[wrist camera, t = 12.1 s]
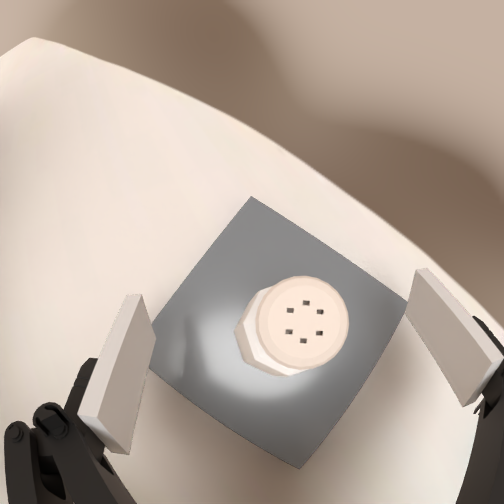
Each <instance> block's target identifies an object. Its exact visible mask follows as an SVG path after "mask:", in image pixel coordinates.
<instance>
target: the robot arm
mask: <svg viewBox="0 0 504 504" xmlns="http://www.w3.org/2000/svg"><path fill="white" fill-rule="evenodd" d="M405 315H406V316H407V318H408V319H409V321H410V322H411V323H412V325H413V326H414V328H415V329H416V331H417V333H418V334H419V336H420V337H421V339H422V340H423V342H424V343H425V345H426V346H427V348H428V350H429V351H430V353H431V354H432V356H433V357H434V359H435V361H436V362H437V364H438V366H439V367H440V369H441V371H442V372H443V374H444V376H445V377H446V379H447V381H448V382H449V384H450V386H451V387H452V389H453V391H454V393H455V394H456V396H457V398H458V400H459V402H460V403H461V405H462V407H465V406H467V405H469V404H471V403H473V402H475V401H476V400H477V398H478V397H479V396H480V394H481V393H482V394H483V396H484V398H483V400H482V401H481V402H480V404H479V405H478V406H477V408H476V409H475V411H474V413H473V414H476V412H477V411H478V410H479V409H480V412H479V414H478V415H479V419H478V425H477V430H476V435H475V439H474V444H473V448H472V452H471V456H470V460H469V464H468V467H467V471H466V474H465V477H464V481H463V484H462V487H461V490H460V493H459V496H458V498H457V501H456V504H504V347H503V346H502V344H501V343H500V342H499V341H498V339H497V338H496V337H495V336H494V334H493V333H492V332H491V331H490V330H489V328H488V327H487V326H486V325H485V324H484V322H483V321H481V320H480V319H478V318H477V317H475V316H471V315H470V314H469V313H468V312H467V310H466V309H465V308H464V307H463V306H462V305H461V304H460V302H459V301H458V300H457V299H456V298H455V297H454V296H453V295H452V294H451V292H450V291H449V290H448V289H447V288H446V287H445V286H444V285H443V284H442V283H441V282H440V281H439V279H438V278H437V277H436V276H435V275H434V274H433V273H432V272H431V271H430V270H429V269H428V268H424V269H417V270H416V271H415V275H414V280H413V284H412V288H411V292H410V296H409V299H408V303H407V307H406V310H405ZM155 341H156V337H155V334H154V331H153V328H152V325H151V322H150V319H149V316H148V313H147V310H146V307H145V304H144V300H143V297H142V294H137V295H126V298H125V300H124V302H123V304H122V306H121V308H120V310H119V312H118V315H117V317H116V319H115V321H114V323H113V326H112V328H111V330H110V332H109V335H108V337H107V339H106V341H105V344H104V346H103V348H102V351H101V353H100V356H99V358H89V359H88V360H87V361H86V362H85V363H84V364H83V365H82V366H81V368H80V371H79V373H78V375H77V379H76V380H75V382H74V387H72V390H71V392H70V395H69V397H68V400H67V402H66V405H65V407H64V410H63V409H62V408H61V406H60V405H58V404H56V403H53V402H48V403H45V404H43V405H41V406H40V407H38V409H37V410H36V411H35V413H34V416H33V425H34V426H35V427H36V428H31V429H30V428H29V427H28V426H27V425H26V424H25V423H24V422H22V421H15V422H13V423H11V424H10V425H9V426H8V427H7V429H6V431H5V435H4V456H5V474H6V485H7V494H8V502H9V504H137V503H136V502H135V501H134V499H133V498H132V496H131V495H130V493H129V492H128V491H127V489H126V488H125V486H124V485H123V483H122V482H121V480H120V478H119V477H118V475H117V474H116V472H115V471H114V469H113V467H112V466H111V464H110V462H109V461H108V459H107V457H106V456H105V455H104V454H103V452H104V448H105V446H106V447H107V448H108V449H109V450H110V451H111V452H113V453H119V454H126V455H129V454H130V448H131V443H132V438H133V433H134V428H135V424H136V419H137V414H138V410H139V405H140V401H141V397H142V392H143V388H144V384H145V380H146V376H147V372H148V368H149V364H150V360H151V356H152V352H153V348H154V344H155ZM73 502H74V503H73Z"/></svg>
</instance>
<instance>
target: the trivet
mask: <svg viewBox="0 0 504 504" xmlns="http://www.w3.org/2000/svg"><path fill="white" fill-rule="evenodd" d="M293 276H310V277H315V278H318V279H320V280H322V281H324V282H326V283H328V284H330V285H331V286H332V287H333V288H334V289H335V290H336V291H337V292H338V293H339V294H340V296H341V297H342V299H343V300H344V303H345V305H346V308H347V311H348V318H349V328H348V333H347V337H346V340H345V342H344V344H343V346H342V348H341V349H340V350H339V352H338V353H337V354H336V355H335V357H333V358H332V359H331V360H329V361H328V362H327V363H325V364H323V365H321V366H318V367H316V368H313V369H309V370H306V371H303V372H300V373H297V374H294V375H291V376H287V377H282V376H272V375H270V374H268V373H266V372H264V371H261V370H259V369H257V368H255V367H253V366H251V365H249V364H247V363H245V362H243V359H242V355H241V352H240V349H239V346H238V343H237V340H236V337H235V334H234V329H235V328H236V326H237V324H238V322H239V320H240V318H241V316H242V314H243V312H244V311H245V309H246V307H247V305H248V303H249V302H250V301H251V299H252V298H253V297H254V296H255V295H256V293H257V292H258V291H260V290H263V289H265V288H268V287H271V286H274V285H276V284H277V283H279V282H280V281H282V280H284V279H287V278H290V277H293ZM407 303H408V302H407V301H406V300H404V299H403V298H401V297H400V296H399V295H397V294H396V293H395V292H393V291H392V290H390V289H389V288H388V287H386V286H385V285H383V284H382V283H381V282H379V281H378V280H376V279H375V278H374V277H372V276H371V275H369V274H368V273H367V272H365V271H364V270H362V269H361V268H359V267H358V266H357V265H355V264H354V263H352V262H351V261H349V260H348V259H346V258H345V257H343V256H342V255H341V254H339V253H338V252H336V251H335V250H333V249H332V248H330V247H329V246H327V245H326V244H324V243H323V242H321V241H320V240H318V239H317V238H315V237H314V236H312V235H311V234H309V233H308V232H306V231H305V230H303V229H302V228H300V227H299V226H297V225H296V224H294V223H293V222H291V221H290V220H288V219H286V218H285V217H283V216H282V215H280V214H279V213H277V212H276V211H274V210H272V209H271V208H269V207H268V206H266V205H265V204H263V203H261V202H260V201H258V200H257V199H255V198H253V197H252V196H251V197H250V198H249V199H248V201H247V202H246V203H245V204H244V206H243V207H242V208H241V209H240V210H239V212H238V213H237V214H236V215H235V217H234V218H233V219H232V220H231V222H230V223H229V224H228V225H227V227H226V228H225V229H224V230H223V232H222V233H221V234H220V235H219V237H218V238H217V239H216V240H215V242H214V243H213V244H212V245H211V247H210V248H209V249H208V251H207V252H206V253H205V254H204V256H203V257H202V258H201V260H200V261H199V262H198V263H197V265H196V266H195V267H194V269H193V270H192V271H191V272H190V274H189V275H188V276H187V278H186V279H185V280H184V281H183V283H182V284H181V285H180V287H179V288H178V289H177V291H176V292H175V293H174V295H173V296H172V297H171V299H170V300H169V301H168V303H167V304H166V305H165V307H164V308H163V309H162V311H161V312H160V313H159V315H158V316H157V317H156V319H155V320H154V321H153V323H152V324H151V325H152V328H153V331H154V334H155V337H156V341H155V344H154V348H153V352H152V356H151V360H150V364H149V368H150V369H151V370H152V371H153V372H154V373H155V374H157V375H158V376H159V377H160V378H161V379H163V380H164V381H165V382H166V383H168V384H169V385H170V386H171V387H173V388H174V389H175V390H176V391H178V392H179V393H180V394H182V395H183V396H184V397H186V398H187V399H188V400H190V401H191V402H192V403H194V404H195V405H196V406H198V407H199V408H200V409H202V410H203V411H205V412H206V413H207V414H209V415H210V416H212V417H213V418H215V419H216V420H217V421H219V422H220V423H222V424H223V425H225V426H226V427H228V428H229V429H231V430H232V431H234V432H236V433H237V434H239V435H240V436H242V437H243V438H245V439H247V440H248V441H250V442H251V443H253V444H255V445H256V446H258V447H260V448H261V449H263V450H265V451H267V452H268V453H270V454H272V455H274V456H275V457H277V458H279V459H281V460H283V461H284V462H286V463H288V464H290V465H292V466H294V467H296V468H298V469H300V468H301V467H302V466H303V465H304V463H305V462H306V461H307V460H308V459H309V458H310V456H311V455H312V454H313V453H314V452H315V450H316V449H317V448H318V447H319V445H320V444H321V443H322V442H323V440H324V439H325V438H326V436H327V435H328V434H329V433H330V431H331V430H332V429H333V427H334V426H335V425H336V423H337V422H338V421H339V419H340V418H341V416H342V415H343V414H344V412H345V411H346V409H347V408H348V407H349V405H350V404H351V402H352V401H353V399H354V398H355V396H356V395H357V393H358V392H359V390H360V389H361V387H362V386H363V384H364V383H365V381H366V379H367V378H368V376H369V375H370V373H371V371H372V370H373V368H374V367H375V365H376V363H377V362H378V360H379V358H380V357H381V355H382V353H383V351H384V350H385V348H386V346H387V344H388V343H389V341H390V339H391V337H392V335H393V333H394V332H395V330H396V328H397V326H398V324H399V322H400V320H401V318H402V316H403V314H404V312H405V310H406V307H407Z"/></svg>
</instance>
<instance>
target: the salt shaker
mask: <svg viewBox="0 0 504 504" xmlns="http://www.w3.org/2000/svg"><path fill="white" fill-rule="evenodd" d="M348 328H349V318H348V311H347V308H346V305H345V303H344V300H343V299H342V297H341V296H340V294H339V293H338V292H337V291H336V290H335V289H334V288H333V287H332V286H331V285H330V284H328V283H326V282H324V281H322V280H320V279H318V278H315V277H310V276H293V277H290V278H287V279H284V280H282V281H280V282H279V283H277V284H276V285H274V286H271V287H268V288H265V289H263V290H260V291H258V292H257V293H256V295H255V296H254V297H253V298H252V299H251V301H250V302H249V303H248V305H247V307H246V309H245V311H244V312H243V314H242V316H241V318H240V320H239V322H238V324H237V326H236V328H235V329H234V334H235V337H236V340H237V343H238V346H239V349H240V352H241V355H242V359H243V362H245V363H247V364H249V365H251V366H253V367H255V368H257V369H259V370H261V371H264V372H266V373H268V374H270V375H272V376H282V377H287V376H291V375H294V374H297V373H300V372H303V371H306V370H309V369H313V368H316V367H318V366H321V365H323V364H325V363H327V362H328V361H329V360H331V359H332V358H333V357H335V355H336V354H337V353H338V352H339V350H340V349H341V348H342V346H343V344H344V342H345V340H346V337H347V333H348Z"/></svg>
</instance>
